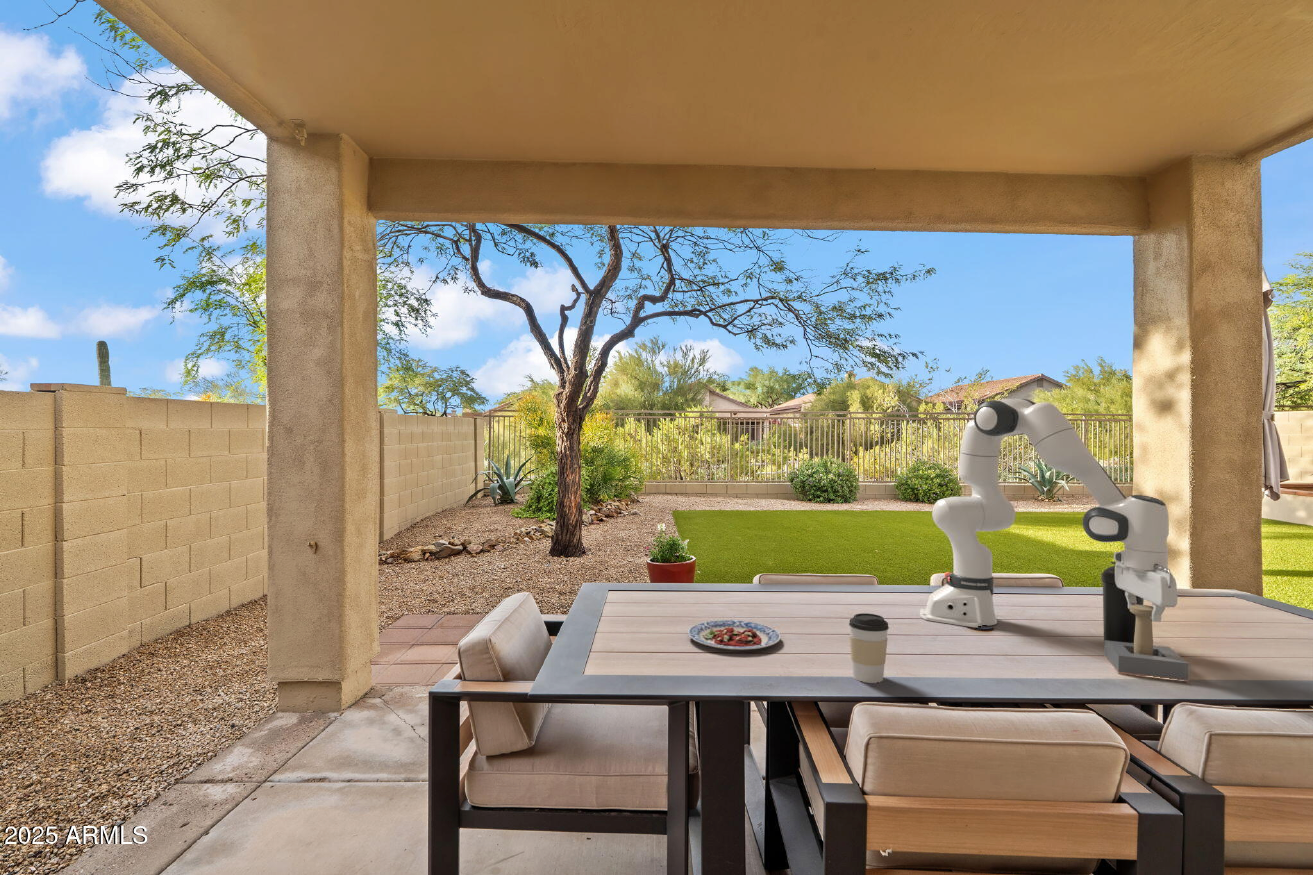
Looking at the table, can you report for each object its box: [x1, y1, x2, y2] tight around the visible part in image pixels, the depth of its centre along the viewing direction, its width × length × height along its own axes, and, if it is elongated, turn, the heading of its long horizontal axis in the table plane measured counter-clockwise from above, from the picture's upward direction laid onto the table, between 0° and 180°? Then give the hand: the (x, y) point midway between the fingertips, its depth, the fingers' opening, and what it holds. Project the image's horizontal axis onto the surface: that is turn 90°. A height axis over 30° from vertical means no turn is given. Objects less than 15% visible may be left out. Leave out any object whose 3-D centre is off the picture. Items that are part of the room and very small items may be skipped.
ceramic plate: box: [688, 619, 782, 651], centre depth 185 cm, size 26×26×3 cm
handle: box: [1130, 604, 1154, 656], centre depth 165 cm, size 5×6×15 cm
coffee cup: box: [848, 612, 890, 684], centre depth 157 cm, size 9×9×15 cm
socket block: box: [1103, 640, 1189, 682], centre depth 165 cm, size 14×13×4 cm
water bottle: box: [1100, 561, 1145, 646], centre depth 183 cm, size 10×10×23 cm
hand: (1143, 615), depth 166 cm, fingers open, 8 cm apart
